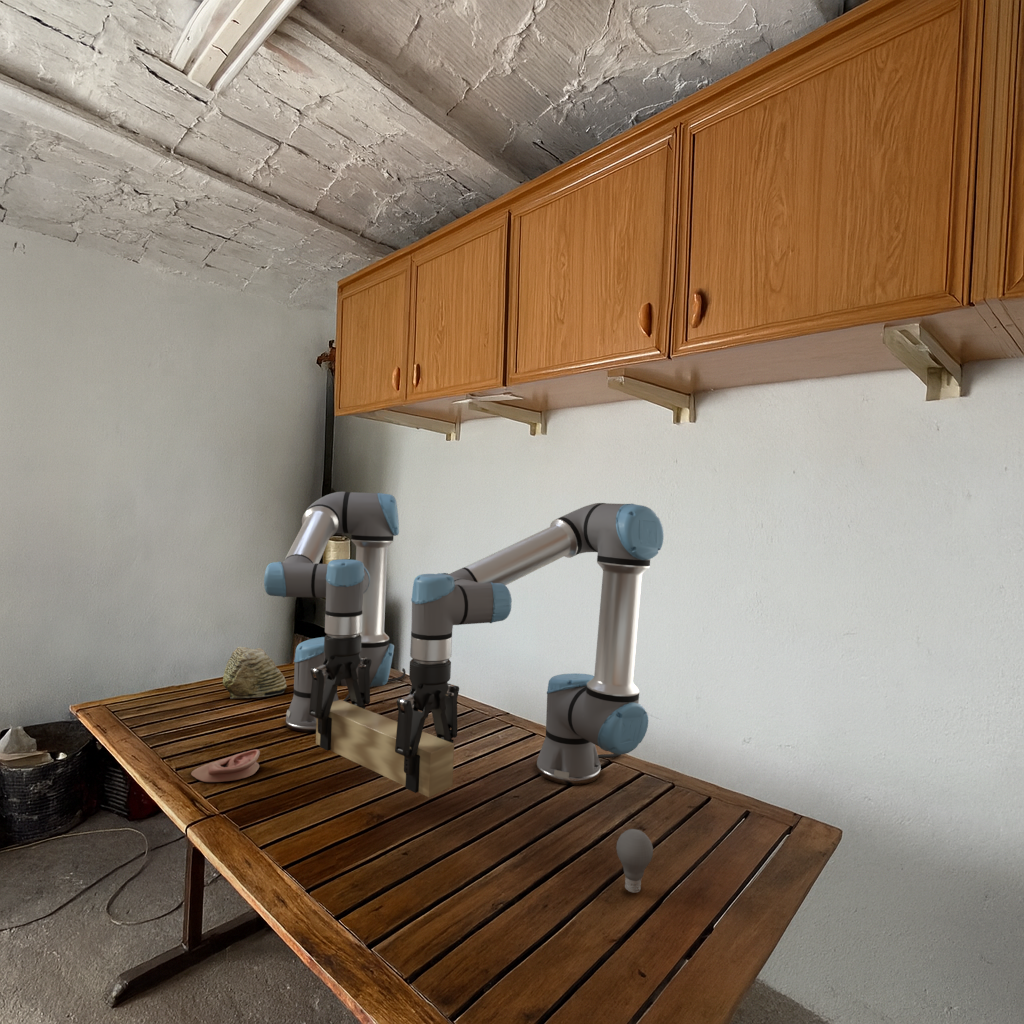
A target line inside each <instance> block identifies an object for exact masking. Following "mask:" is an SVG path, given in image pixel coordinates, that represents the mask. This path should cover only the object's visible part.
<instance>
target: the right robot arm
mask: <svg viewBox="0 0 1024 1024" xmlns="http://www.w3.org/2000/svg"><path fill="white" fill-rule="evenodd" d="M664 536H665V533H664V527H663V523H662V521H661V519H660V517H659V516H658V515H657V513H656V512H655V511H654V510H653V509H652V508H650V507H648V506H647V505H641V504H635V503H607V502H596V503H591V504H588V505H585V506H582V507H580V508H578V509H575V510H573V511H571V512H568V513H567V514H564V515H562V516H560V517H558V518H556V519H554V520H552V521H551V522H550V525H549V527H547V528H544V529H542V530H540V531H538V532H536V533H534V534H532V535H529V536H528V537H526V538H523V539H521V540H519V541H516V542H515V543H513V544H511V545H508V546H507V547H504V548H502V549H500V550H498V551H496V552H494V553H491V554H489V555H487V556H485V557H483V558H481V559H479V560H477V561H475V562H472V563H470V564H468V565H466V566H464V567H462V568H459V569H457V570H455V571H452V572H450V573H447V572H441V573H439V572H438V573H422V574H418V575H417V576H416V577H415V578H414V580H413V585H412V593H411V600H410V601H411V630H410V631H411V632H410V652H409V656H410V658H411V659H410V661H409V669H408V670H409V673H408V677H409V681H410V684H411V687H410V690H409V693H408V695H407V696H405V697H398V698H397V699H396V704H397V710H398V713H397V733H396V745H395V752H396V753H398V754H401V755H403V756H404V772H405V773H406V784H405V786H404V787H405V789H406V790H408V791H410V792H413V793H414V794H416V793H417V794H418V792H419V768H420V756H419V755H417V750H418V746H419V742H420V738H421V734H422V731H423V732H424V727H425V722H426V720H427V719H428V718H429V715H430V712H431V715H432V721H433V725H434V731H435V734H436V737H438V738H441V739H443V740H446V741H448V742H451V743H454V742H455V741H454V739H455V738H457V736H458V697H459V693H460V687H459V686H458V685H455V684H451V683H449V681H450V680H451V674H452V673H451V672H452V662H451V660H450V659H451V658H452V651H453V650H452V649H453V648H452V647H453V629H454V626H460V625H461V626H462V625H475V624H477V625H478V624H493V623H497V622H503V621H504V620H506V619H507V618H509V616H510V614H511V611H512V602H513V600H512V594H511V592H510V590H509V589H510V588H508V586H507V585H509V584H512V583H513V582H516V581H519V579H521V578H523V577H526V576H528V575H530V574H531V573H533V572H535V571H537V570H540V569H541V568H543V567H546V566H547V565H549V564H551V563H554V562H556V561H558V560H559V559H562V558H564V557H565V558H568V559H572V558H573V557H575V556H577V555H581V554H584V553H597V555H596V563H597V564H598V565H599V567H600V569H602V576H601V578H602V579H601V580H602V581H601V589H600V603H599V615H598V627H597V639H596V650H595V661H594V662H595V663H594V673H593V674H589V673H575V672H574V673H561V674H556V675H554V676H552V677H550V679H549V680H548V684H547V691H546V715H545V716H546V717H545V718H546V720H545V723H546V724H545V737H544V739H543V743H542V746H541V748H540V751H539V754H538V757H537V759H536V771H537V773H538V775H540V776H541V777H542V778H544V779H546V780H548V781H550V782H554V783H557V784H562V785H570V786H571V785H572V786H573V785H574V786H575V785H576V786H577V785H587V784H590V783H593V782H596V781H597V780H598V779H599V778H600V776H601V769H602V768H601V761H600V759H614V758H617V757H621V756H622V755H626V754H629V753H631V752H632V751H634V750H635V749H636V748H637V747H638V746H639V744H642V742H643V740H644V738H645V736H646V735H647V731H648V728H649V715H648V712H647V711H646V709H645V708H644V706H643V705H641V703H639V702H640V689H639V688H638V686H637V685H636V684H635V683H634V677H635V676H634V675H635V667H636V666H635V665H636V652H637V640H638V629H639V627H638V626H639V616H640V606H641V592H642V582H643V581H642V580H643V574H644V573H646V571H647V570H649V569H650V567H651V559H653V558H655V557H656V556H657V555H658V554H659V552H660V551H661V550H662V547H663V544H664ZM596 746H597V747H599V748H600V749H601V750H603V751H605V752H609V753H604V754H603V753H601V754H599V753H598V749H597V747H596ZM410 747H411V748H410Z"/></svg>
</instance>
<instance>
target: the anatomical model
mask: <svg viewBox="0 0 1024 1024" xmlns="http://www.w3.org/2000/svg"><path fill="white" fill-rule="evenodd" d="M260 754H261V752H260V749H257V748H256V749H251V750H247V751H243V752H240V753H236V754H234V755H231V756H228V757H225V758H222V759H219V760H216V761H211V762H209V763H206V764H204V765H201V766H198V767H197V768H195V769H193V770H192V771H191V773H190V775H191V776H192V777H193V778H194V779H196V780H198V781H201V782H203V783H221V782H230V781H231V782H233V781H237V780H241V779H246V778H248V777H250V776H253V775H254V774H256V772H257V771H258V770H259V768H260V764H259V762H258V759H259V757H260Z"/></svg>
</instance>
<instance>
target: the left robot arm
mask: <svg viewBox="0 0 1024 1024" xmlns="http://www.w3.org/2000/svg"><path fill="white" fill-rule="evenodd" d="M335 534H349V535H350V541H351V542H352V543H353V544H354V546H355V548H356V549H355V559H347V558H346V559H343V558H342V559H333V560H330V561H329V562H328V563H320V561H321V559H322V557H323V555H324V552H325V550H326V548H327V545H328V544H329V541H330V538H331V537H333V536H334V535H335ZM399 535H400V522H399V511H398V504H397V499H396V498H395V496H394V495H393V494H390V493H384V492H383V493H382V492H358V491H357V492H355V491H353V492H352V491H336V492H335V491H334V492H332V493H329V494H326V495H324V496H322V497H320V498H318V499H317V500H315V501H314V502H312V503H311V504H310V505H309V506H308V507H307V508H306V510H305V511H304V513H303V515H302V517H301V527H300V529H299V531H298V533H297V535H296V537H295V539H294V541H293V543H292V544H291V546H290V549H289V550H288V552H287V554H286V556H285V558H284V560H283V562H282V561H275V562H274V561H273V562H270V563H268V565H267V566H266V568H265V571H264V577H263V585H264V591H265V593H266V594H267V595H268V596H271V597H282V598H318V599H320V598H321V599H325V617H324V633H325V634H326V635H324V636H321V637H315V638H310V639H307V640H304V641H302V642H300V643H298V645H296V648H295V654H294V660H293V662H294V672H293V673H294V674H293V695H292V696H293V697H292V699H291V702H290V704H289V708H288V709H287V710H286V713H285V726H286V728H287V729H289V730H291V731H294V732H295V731H296V732H301V733H316V721H317V718H318V733H319V734H320V745H319V748H322V749H323V750H324V751H328V752H329V751H330V750H331V729H332V718H330V717H329V713H330V710H331V706H332V703H333V702H334V701H338V700H340V699H339V695H338V687H346V688H347V691H348V694H347V696H346V697H345V698H344V699H343V701H345V702H348V700H350V703H351V704H353V705H356V706H358V707H361V708H363V709H366V705H370V703H371V688H372V687H383V686H385V685H386V684H389V683H392V682H395V681H400V680H402V679H404V678H405V677H406V669H405V668H404V667H402V669H401V671H402V675H400V676H398V677H395V678H391V679H389V678H390V673H391V668H392V663H393V658H394V653H395V652H394V650H395V645H394V644H393V643H390V636H389V635H388V634H386V632H385V620H386V619H385V617H386V614H385V613H386V596H387V595H386V593H387V573H388V571H387V570H388V569H387V568H388V548H389V546H390V545H392V544H393V543H394V537H396V536H399Z"/></svg>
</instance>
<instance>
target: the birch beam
mask: <svg viewBox="0 0 1024 1024" xmlns="http://www.w3.org/2000/svg"><path fill="white" fill-rule="evenodd" d="M343 700H344V699H343ZM343 700H342V699H339V700H338V701H334V702H333V703H332V706H331V710H330V713H329V717H330V718H332V729H331V750H329V751H331V752H332V753H334V754H336V755H339V756H341V757H343V758H345V759H347V760H349V761H350V762H353V763H355V764H357V765H360V766H362V767H364V768H366V769H367V770H369V771H372V772H374V773H377V774H378V775H380V776H383V777H385V778H387V779H389V780H391V781H393V782H395V783H397V784H399V785H402V786H404V787H405V784H406V773H405V772H404V756H403V755H401V754H398V753H396V752H395V745H396V733H397V722H398V720H395V719H391V718H389V717H387V716H384V715H381V714H379V713H376V712H374V711H371V710H369V709H367V708H365V709H363V708H361V707H358V706H356V705H353V704H351V702H348V701H346V702H345V701H343ZM315 744H316V745H318V746H320V734H319V733H318V718H317V721H316V732H315ZM410 748H411V747H410ZM417 755H419V756H420V768H419V792H417V794H420V795H423V796H425V797H426V798H431V797H433V796H436V795H437V794H440V793H441V792H443V791H447V790H448V789H450V788H452V787H453V783H454V781H453V780H454V779H453V778H454V759H455V758H454V757H455V756H454V755H455V743H454V742H453V743H451V742H448V741H446V740H443V739H441V738H438V737H437V735H436V736H435V735H434V734H430V733H427V732H425V731H424V730H423V731H422V734H421V738H420V742H419V746H418V750H417Z"/></svg>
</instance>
